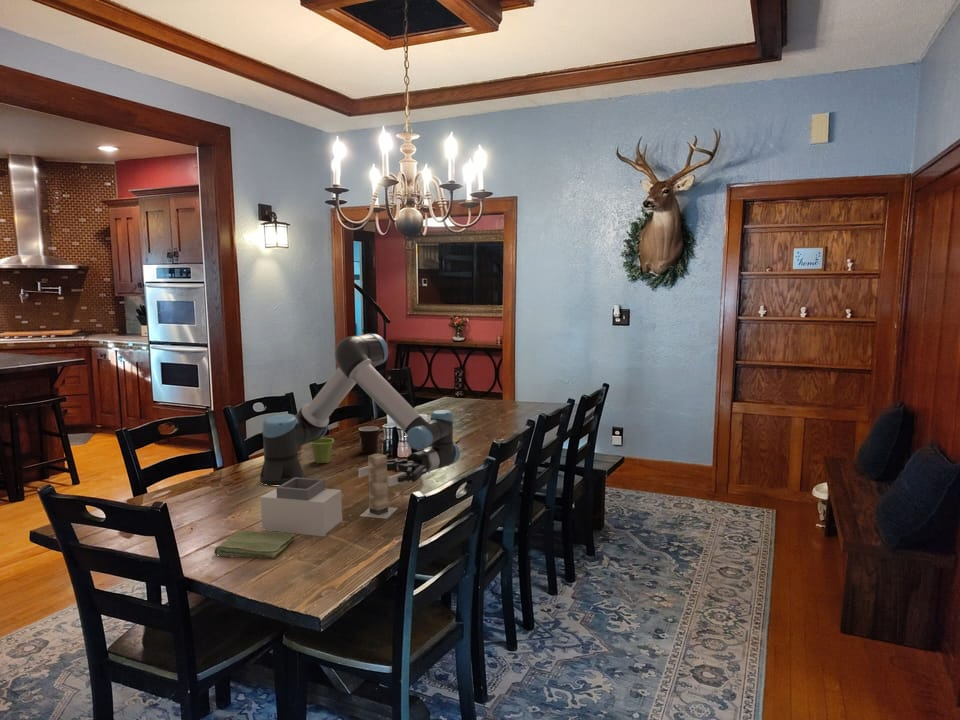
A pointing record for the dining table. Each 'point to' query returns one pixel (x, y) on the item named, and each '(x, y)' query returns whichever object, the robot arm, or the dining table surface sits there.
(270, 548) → the washcloth
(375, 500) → the beige tall cylinder
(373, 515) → the white paper sheet
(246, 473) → the dining table surface
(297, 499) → the switch box
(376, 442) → the coffee mug
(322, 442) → the plant pot
